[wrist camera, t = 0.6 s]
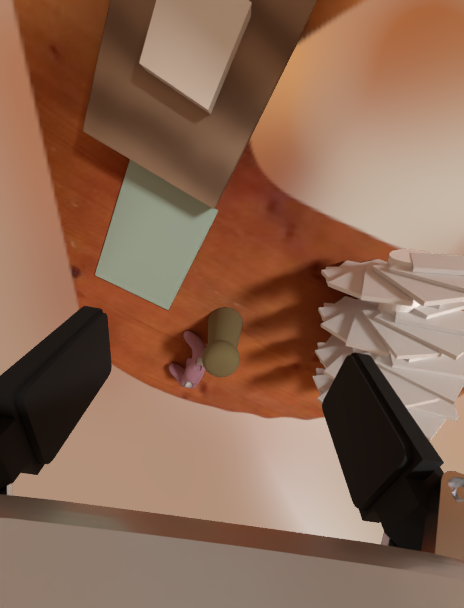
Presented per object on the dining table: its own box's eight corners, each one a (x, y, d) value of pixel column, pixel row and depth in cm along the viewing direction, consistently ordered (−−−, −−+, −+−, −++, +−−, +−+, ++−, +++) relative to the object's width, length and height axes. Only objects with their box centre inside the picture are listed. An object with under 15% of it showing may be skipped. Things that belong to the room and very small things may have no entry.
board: (160, -107, 21) (144, -162, 18) (309, 19, 24) (320, -7, 21) (101, 136, 30) (82, 131, 26) (216, 205, 33) (213, 209, 29)
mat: (131, 158, 31) (130, 158, 30) (218, 210, 33) (218, 211, 33) (96, 274, 39) (94, 275, 38) (168, 309, 41) (168, 310, 41)
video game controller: (188, 366, 49) (197, 396, 44) (166, 366, 47) (173, 398, 42) (206, 329, 45) (219, 358, 40) (183, 327, 42) (193, 358, 37)
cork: (204, 331, 43) (192, 377, 33) (213, 302, 40) (203, 344, 31) (236, 340, 44) (234, 388, 34) (247, 313, 41) (249, 356, 31)
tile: (179, -41, 20) (173, -62, 19) (250, 16, 22) (251, 2, 20) (146, 71, 24) (139, 63, 22) (210, 114, 25) (208, 110, 23)
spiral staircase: (321, 354, 49) (333, 230, 37) (430, 379, 41) (493, 232, 29) (298, 435, 36) (303, 284, 23) (452, 494, 28) (587, 315, 15)
